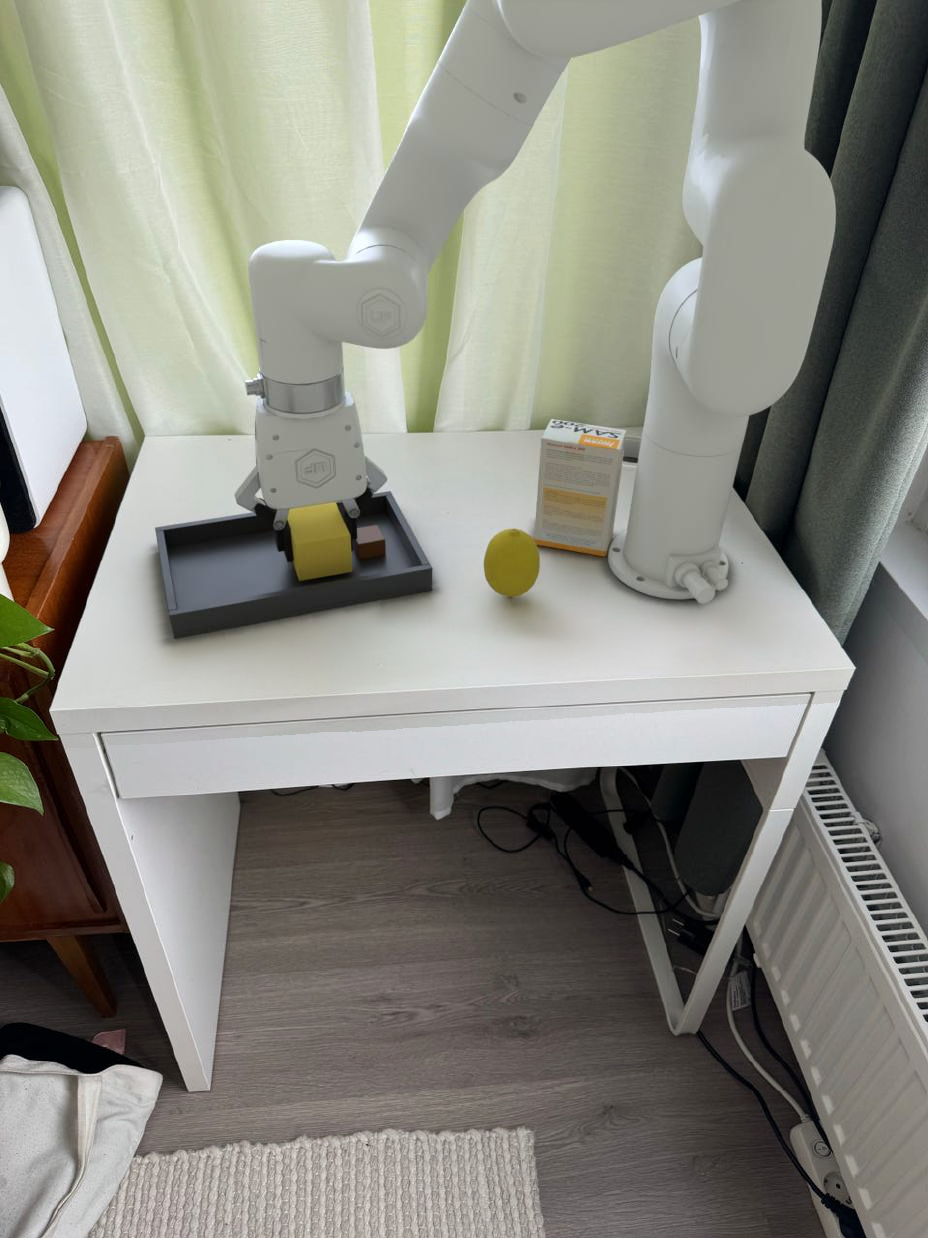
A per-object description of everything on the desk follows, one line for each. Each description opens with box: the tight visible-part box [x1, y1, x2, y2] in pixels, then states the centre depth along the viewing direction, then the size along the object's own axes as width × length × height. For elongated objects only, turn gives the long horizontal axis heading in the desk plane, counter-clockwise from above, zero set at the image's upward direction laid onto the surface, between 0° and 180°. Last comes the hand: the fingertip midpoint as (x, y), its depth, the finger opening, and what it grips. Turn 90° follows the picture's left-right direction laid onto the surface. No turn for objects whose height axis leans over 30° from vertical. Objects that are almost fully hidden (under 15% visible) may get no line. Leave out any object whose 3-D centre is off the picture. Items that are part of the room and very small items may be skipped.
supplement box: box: [533, 418, 627, 558], centre depth 98 cm, size 8×5×13 cm, turn 73°
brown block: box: [353, 525, 386, 560], centre depth 98 cm, size 3×3×2 cm
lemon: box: [483, 528, 541, 598], centre depth 92 cm, size 6×6×8 cm
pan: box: [154, 490, 433, 639], centre depth 96 cm, size 16×26×3 cm, turn 109°
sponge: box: [287, 502, 353, 581], centre depth 95 cm, size 8×6×4 cm
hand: (317, 548), depth 96 cm, fingers closed on sponge, 5 cm apart
